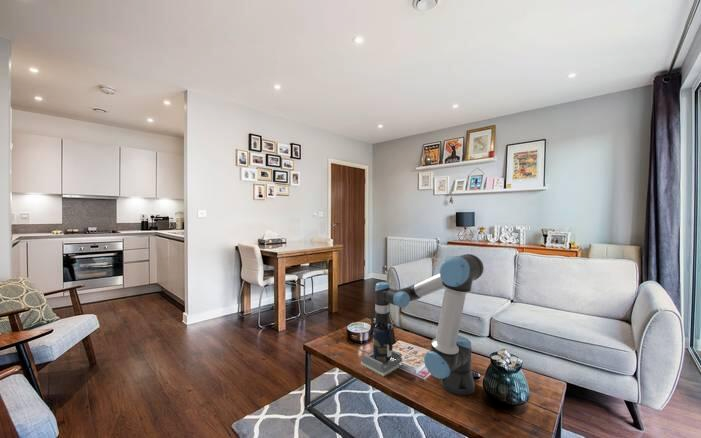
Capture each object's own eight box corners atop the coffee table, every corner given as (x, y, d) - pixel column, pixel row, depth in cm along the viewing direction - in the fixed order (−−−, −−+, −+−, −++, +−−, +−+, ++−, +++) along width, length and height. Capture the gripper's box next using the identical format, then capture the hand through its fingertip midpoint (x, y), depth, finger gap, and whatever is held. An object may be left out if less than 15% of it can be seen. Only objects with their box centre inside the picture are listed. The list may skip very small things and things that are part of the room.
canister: (391, 364, 152) (392, 329, 152) (373, 363, 153) (373, 329, 152) (389, 355, 162) (389, 323, 162) (372, 354, 162) (372, 322, 162)
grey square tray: (402, 364, 157) (402, 354, 157) (383, 376, 146) (383, 365, 146) (380, 354, 169) (380, 344, 169) (360, 364, 158) (360, 354, 158)
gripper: (403, 315, 151) (402, 357, 152) (371, 305, 167) (371, 343, 168) (394, 318, 146) (393, 362, 147) (362, 308, 162) (362, 347, 163)
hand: (381, 352), depth 157 cm, fingers closed on canister, 9 cm apart
